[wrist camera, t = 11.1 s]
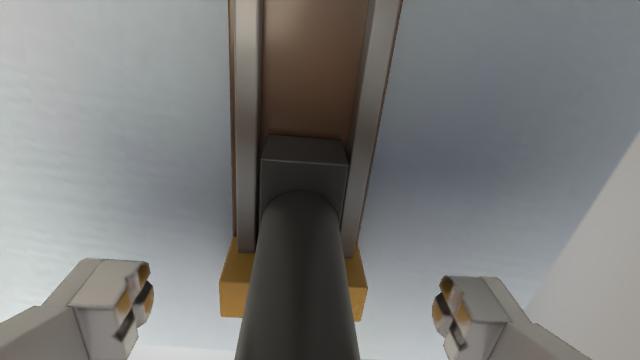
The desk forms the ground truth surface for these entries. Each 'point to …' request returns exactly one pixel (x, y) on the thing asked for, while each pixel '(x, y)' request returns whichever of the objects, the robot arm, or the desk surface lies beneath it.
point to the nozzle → (299, 257)
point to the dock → (239, 274)
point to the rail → (307, 92)
